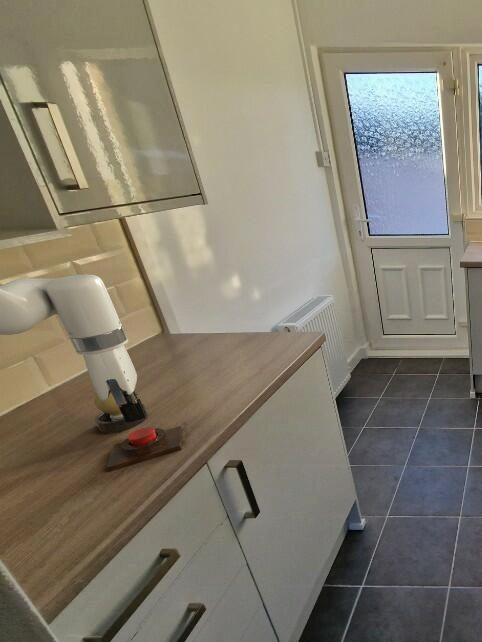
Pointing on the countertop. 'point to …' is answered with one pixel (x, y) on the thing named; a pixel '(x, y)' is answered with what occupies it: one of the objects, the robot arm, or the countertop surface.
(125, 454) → the switch block
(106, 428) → the socket
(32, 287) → the robot arm
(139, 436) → the switch button
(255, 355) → the countertop surface
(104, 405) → the light bulb
